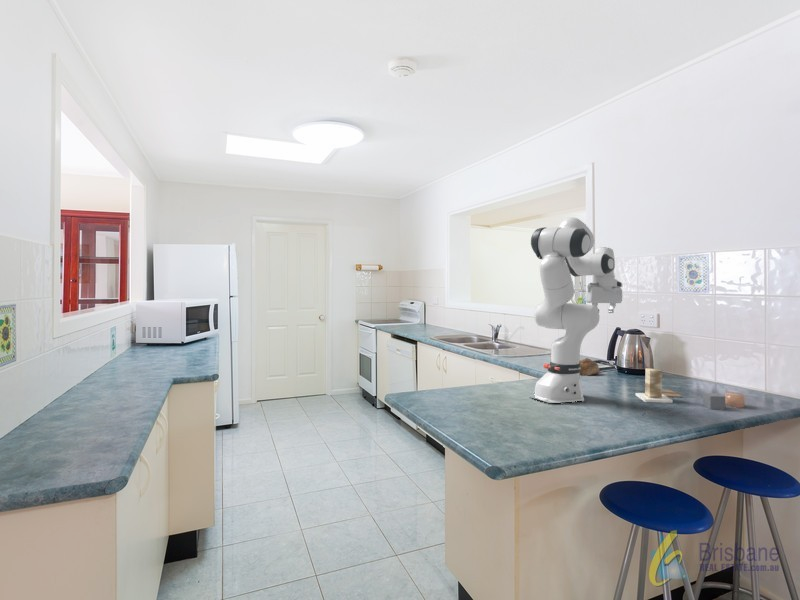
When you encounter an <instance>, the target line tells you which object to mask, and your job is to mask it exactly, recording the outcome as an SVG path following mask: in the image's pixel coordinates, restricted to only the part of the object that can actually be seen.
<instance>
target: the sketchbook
mask: <svg viewBox="0 0 800 600" xmlns="http://www.w3.org/2000/svg"><path fill="white" fill-rule="evenodd" d="M593 361H594V362H596V363H597V364H598V367H599V370H600V372H599V373H603V371H606V372H611V371H610V370H613V371H616V370H615V369H616V368H615V366H614V365H612V364H610V363H609V362H610V361H608V362H607V360H602V359H596V360H593Z"/></svg>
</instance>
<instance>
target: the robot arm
mask: <svg viewBox="0 0 800 600" xmlns="http://www.w3.org/2000/svg"><path fill="white" fill-rule="evenodd" d="M594 236H595V235H594V233H593V231H592V230H591V229H590V228H589V227H588V225H587V224H586V223H585V222H583V220H581V219H579V218H578V217H568V218H565V219H563V220H562V221H561V222H560V223H559V226H558V227H557V226H555V227H552V226H551V227H547V226H546V227H539V228H537V229H535V230H534V232H533V233H532V235H531V238H530V247H531V249H532V251H533V253H534V254H535V256H536V258H538V259H539V260H540V262H539V275H540V276H539V277H540V281H541V285H542V288H543V293H544V300H543V301H542V302H541V303H540V304H538V305H537V307H535V309H534V312H533V319H534V321H535V323H536V324H537V326H539V327H542V328H546V329H552V330H565V334H564V335H563V336H562V337H558V338H557V339H555V340H553V342H552V344H551V346H550V348H551V350H550V354H551V356H550V359H551V360H550V362H549V363H544V364H543V369H547V372H546V373H545V374H543V375H542V376H541V377H540V379H539V380H537V381H536V382H535V386H534V392H535V394H534V395H535V398H538V399H540V400H543V401H547V402H552V403H557V402H572V403H578V402H577V401H582V402H585V398H584V394H583V385H582V384H583V383H582V378H581V375H580V372H581V364H580V361H581V358H580V357H581V356H580V355H581V347H582V343H583V340H584V338H585V337H586V335H588V334H589V332H591V331H592V330H594V329H595V328H596V327H597V326H598V324H599V322H600V318H601V317H600V308H599V307H598V306H599V304H609V306H610V307H609V309H608V310H607V312H608V314H614V311H615V308H616V305H617V304H622V301H623V289H622V288H623V283H622V282H621V281H619V280H617V279H616V276H615V272H614V271H615V268H616V264H615V263H616V261H615V254H614V250H613V249H612V248H611V247H598V248H596V249H595V251H594V253H589V252H591V250H592V249H593V247H594V244H595V237H594ZM588 253H589V254H588ZM571 275H572V276H573V277H575V278H576V277H582V276H584V277H585V276H593V282H590V283H588V285H587V288H586V292H585V303H587V304H585V303H579V302H577V303H575V302H573V303H572V302H570V301H571V300H572V299H573V298H574V294H575V289H574V283H573V279H572V276H571ZM575 401H576V402H575Z"/></svg>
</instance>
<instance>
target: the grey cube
mask: <svg viewBox="0 0 800 600" xmlns="http://www.w3.org/2000/svg"><path fill="white" fill-rule="evenodd" d="M702 397H703V398H702V405H704V406H703V407H705V408H707V409H709V410H716V411H717V410H718V411H720V410H722V411H725V410H726V405H725V395H723V394H720V393H718V392H703V396H702Z"/></svg>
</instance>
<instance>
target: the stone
mask: <svg viewBox="0 0 800 600" xmlns="http://www.w3.org/2000/svg"><path fill="white" fill-rule="evenodd" d="M594 361H595V360H592V359H591V358H588V357H586V358H583V359H580V364H581V372H580V376H592V375H597V374H599V373H601V372H600V370H599V367H598V364H597V363H596V362H594Z"/></svg>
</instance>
